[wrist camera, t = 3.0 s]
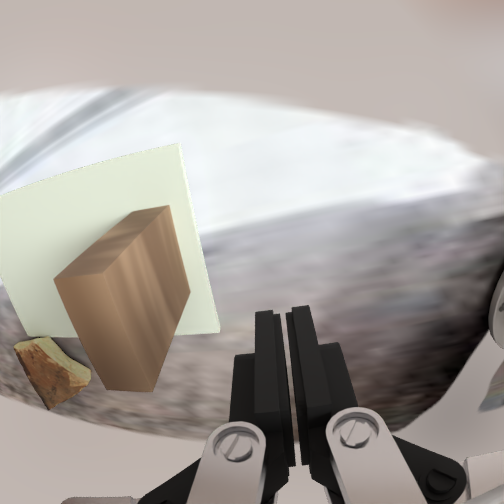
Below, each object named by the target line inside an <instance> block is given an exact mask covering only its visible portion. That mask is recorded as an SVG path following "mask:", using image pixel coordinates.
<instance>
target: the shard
mask: <svg viewBox="0 0 504 504" xmlns="http://www.w3.org/2000/svg"><path fill="white" fill-rule="evenodd" d="M14 350H15V352H16V355H17V357H18V359H19V362H20V363H21V365H22V366H23V368H24V371H25V373H26V375H27V377H28V379H29V381H30V382H31V384H32V386H33V387H34V389H35V391H36V392H37V393H38V395H39V396H40V397H41V399H42V401H43V403H44V404H45V406H46V407H47V409H48V410H50V409H51V408H53V407H55V406H56V404H59V403H61V402H64V401H66V400H67V399H69V398H71V397H73V396H74V395H75V394H77V393H78V392H80V391H81V390H82V389H83V388H84V387H86V386H87V385H88V383H89V381H90V379H91V370H90V369H89V368H87V367H85V366H83V365H82V364H80V363H78V362H76V361H74V360H73V359H71V358H69V357H68V356H67V355H66V354H64V353H63V351H62V350H61V349H60V348H59V346H58V345H57V344H56V343H55V342H54V341H53V340H52V339H51V338H50V337H49V336H46V337H44V338H36V339H34V340H28V341H24V342H19V343H17V344H16V345H15V346H14Z"/></svg>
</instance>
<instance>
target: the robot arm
mask: <svg viewBox="0 0 504 504" xmlns="http://www.w3.org/2000/svg"><path fill="white" fill-rule="evenodd" d="M488 318H489V330H490V334H491V336H492V337H493V339H494V340H495V342H496V343H497V344H498V345H499V346H500V347H501V348H502V349H504V271H503V273H502V275H501V277H500V279H499V281H498V284H497V286H496V289H495V291H494V294H493V297H492V301H491V305H490V310H489V317H488ZM286 322H287V331H288V340H289V349H290V358H291V368H292V377H293V386H294V395H295V404H296V413H297V423H298V432H299V442H300V451H301V462H302V465H309V469H310V474H311V477H312V479H313V480H315V481H316V482H318V483H320V484H322V485H323V486H324V490H325V493H326V496H327V500H328V503H329V504H504V450H501V451H497V452H492V453H488V454H483V455H478V456H473V457H467V458H466V459H465V461H460V462H456V461H454V460H453V459H450V458H447V457H445V456H442V455H440V454H437V453H435V452H432V451H429V450H427V449H424V448H422V447H419V446H417V445H415V444H412V443H410V442H407V441H405V440H403V439H400V438H398V437H396V436H393V435H391V433H390V431H389V429H388V428H387V426H386V424H385V422H384V420H383V419H382V418H381V417H380V415H379V414H377V413H376V412H374V411H373V410H370V409H367V408H362V407H358V404H357V401H356V397H355V394H354V390H353V387H352V383H351V380H350V377H349V373H348V370H347V367H346V363H345V360H344V357H343V354H342V350H341V347H340V345H339V343H338V342H336V343H329V344H323V345H318V341H317V336H316V332H315V328H314V324H313V320H312V316H311V312H310V307H309V305H306V306H299V307H292V312H288V313H286ZM293 466H296V462H295V450H294V439H293V427H292V416H291V406H290V395H289V385H288V375H287V367H286V358H285V350H284V342H283V334H282V326H281V318H280V314H273V310H268V311H259V312H255V353H251V354H240V355H235V358H234V368H233V380H232V392H231V404H230V416H229V423H227V424H223V425H222V426H220V427H218V428H217V429H215V430H214V431H213V432H212V433H211V434H210V436H209V438H208V440H207V442H206V445H205V448H204V451H203V455H202V457H201V458H200V459H198V460H197V461H195V462H194V463H193V464H191V465H190V466H188V467H187V468H185V469H184V470H183V471H181V472H180V473H178V474H177V475H175V476H174V477H172V478H171V479H169V480H168V481H166V482H165V483H163V484H162V485H160V486H159V487H157V488H155V489H154V490H152V491H151V492H149V493H147V494H146V495H145V496H143V497H142V498H139V499H133V498H132V497H131V496H130V497H129V496H128V497H72V498H68V499H66V500H64V501H63V502H62V503H61V504H277V498H278V490H279V489H280V488H282V487H283V486H284V485H285V484H286V483H287V482H288V476H289V467H293Z"/></svg>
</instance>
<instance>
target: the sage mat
mask: <svg viewBox="0 0 504 504" xmlns="http://www.w3.org/2000/svg"><path fill="white" fill-rule="evenodd" d="M165 205H170V210H171V214H172V218H173V223H174V227H175V231H176V235H177V240H178V244H179V248H180V252H181V256H182V260H183V264H184V268H185V272H186V276H187V279H188V283H189V287H190V291H191V293H190V295H189V298H188V300H187V303H186V305H185V308H184V311H183V313H182V316H181V318H180V321H179V323H178V326H177V328H176V331H175V334H174V335H191V334H206V333H220V324H219V319H218V315H217V311H216V307H215V303H214V299H213V295H212V291H211V286H210V282H209V278H208V273H207V269H206V265H205V260H204V256H203V251H202V247H201V242H200V238H199V233H198V228H197V224H196V219H195V214H194V209H193V205H192V200H191V195H190V190H189V185H188V180H187V175H186V169H185V164H184V159H183V154H182V148H181V143H177V144H172V145H167V146H163V147H158V148H154V149H150V150H145V151H141V152H137V153H133V154H129V155H125V156H121V157H117V158H113V159H110V160H106V161H102V162H99V163H95V164H92V165H88V166H85V167H82V168H78V169H75V170H72V171H69V172H65V173H62V174H59V175H56V176H53V177H50V178H47V179H44V180H41V181H38V182H35V183H33V184H30V185H27V186H24V187H21V188H19V189H16V190H13V191H11V192H8V193H6V194H3V195H1V196H0V276H1V279H2V281H3V284H4V286H5V288H6V291H7V293H8V295H9V298H10V300H11V302H12V304H13V306H14V309H15V311H16V313H17V315H18V317H19V319H20V321H21V323H22V325H23V327H24V329H25V331H26V333H27V335H28V336H31V337H46V336H49V337H71V338H79V337H78V335H77V333H76V331H75V329H74V327H73V325H72V322H71V320H70V318H69V316H68V314H67V311H66V309H65V307H64V305H63V302H62V300H61V297H60V295H59V293H58V290H57V288H56V285H55V283H54V280H53V279H54V278H55V277H56V276H57V275H58V274H59V273H60V272H61V271H62V270H64V269H65V268H66V267H67V266H68V265H69V264H70V263H71V262H72V261H74V260H75V259H76V258H77V257H78V256H79V255H80V254H82V253H83V252H84V251H85V250H86V249H87V248H89V247H90V246H91V245H92V244H93V243H94V242H96V241H97V240H98V239H99V238H100V237H102V236H103V235H104V234H105V233H106V232H108V231H109V230H110V229H111V228H113V227H114V226H115V225H116V224H117V223H119V222H120V221H121V220H122V219H124V218H125V217H126V216H127V215H129V214H130V213H131V212H133V211H137V210H143V209H148V208H154V207H160V206H165Z"/></svg>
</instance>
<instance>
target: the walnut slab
mask: <svg viewBox="0 0 504 504" xmlns="http://www.w3.org/2000/svg"><path fill="white" fill-rule="evenodd" d="M53 280H54V283H55V285H56V288H57V290H58V293H59V295H60V297H61V300H62V302H63V305H64V307H65V309H66V311H67V314H68V316H69V318H70V320H71V322H72V325H73V327H74V329H75V331H76V333H77V335H78V337H79V339H80V341H81V343H82V345H83V347H84V349H85V351H86V353H87V355H88V357H89V359H90V361H91V363H92V365H93V366H94V368H95V370H96V372H97V374H98V376H99V377H100V379H101V381H102V383H103V384H104V386H105V388H106V390H117V391H136V392H153V390H154V387H155V384H156V382H157V379H158V376H159V373H160V371H161V368H162V365H163V363H164V360H165V357H166V355H167V352H168V349H169V347H170V344H171V341H172V339H173V336H174V334H175V331H176V328H177V326H178V323H179V321H180V318H181V316H182V313H183V311H184V308H185V305H186V303H187V300H188V298H189V295H190V293H191V291H190V287H189V283H188V279H187V276H186V272H185V268H184V264H183V260H182V256H181V252H180V248H179V244H178V240H177V235H176V231H175V227H174V223H173V218H172V214H171V210H170V205H165V206H160V207H154V208H148V209H143V210H137V211H133V212H131V213H130V214H129V215H127V216H126V217H125V218H124V219H122V220H121V221H120V222H119V223H117V224H116V225H115V226H114V227H113V228H111V229H110V230H109V231H108V232H106V233H105V234H104V235H103V236H102V237H100V238H99V239H98V240H97V241H96V242H94V243H93V244H92V245H91V246H90V247H89V248H87V249H86V250H85V251H84V252H83V253H82V254H80V255H79V256H78V257H77V258H76V259H75V260H74V261H72V262H71V263H70V264H69V265H68V266H67V267H66V268H65V269H64V270H62V271H61V272H60V273H59V274H58V275H57V276H56V277H55V278H54V279H53Z"/></svg>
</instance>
